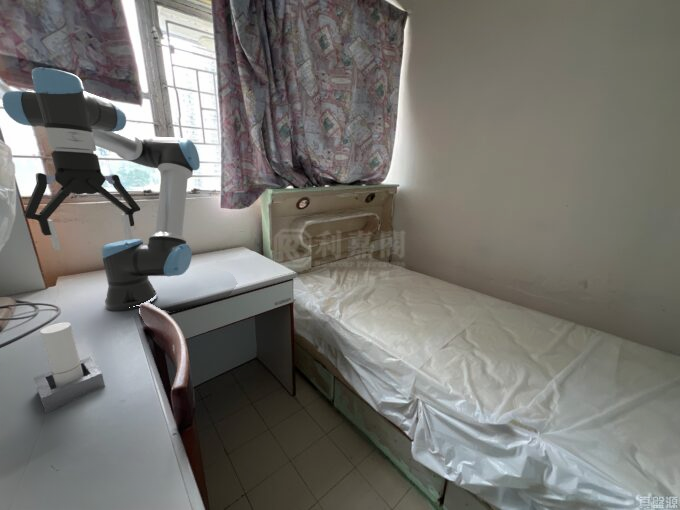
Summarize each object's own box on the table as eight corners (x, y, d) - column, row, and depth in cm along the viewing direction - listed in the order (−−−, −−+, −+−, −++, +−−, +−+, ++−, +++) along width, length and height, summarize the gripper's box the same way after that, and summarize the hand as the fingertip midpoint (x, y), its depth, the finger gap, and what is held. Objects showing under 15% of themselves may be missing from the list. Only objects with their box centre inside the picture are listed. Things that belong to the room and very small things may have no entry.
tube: (90, 381, 60) (76, 322, 57) (73, 396, 56) (56, 333, 52) (71, 381, 60) (55, 322, 56) (52, 396, 56) (33, 333, 52)
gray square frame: (37, 391, 57) (33, 377, 56) (92, 369, 64) (89, 357, 63) (46, 413, 52) (41, 398, 51) (104, 386, 59) (101, 373, 58)
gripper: (-15, 144, 48) (21, 257, 54) (145, 155, 67) (159, 237, 73) (-18, 145, 52) (16, 250, 58) (134, 155, 71) (147, 233, 78)
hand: (96, 243), depth 66 cm, fingers open, 13 cm apart
